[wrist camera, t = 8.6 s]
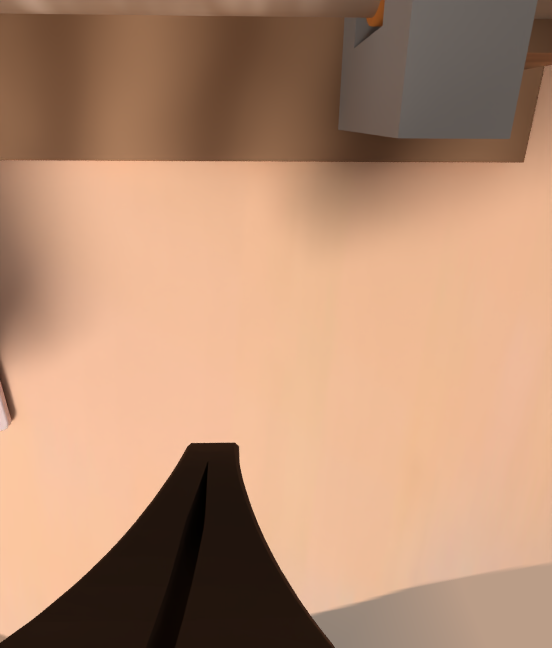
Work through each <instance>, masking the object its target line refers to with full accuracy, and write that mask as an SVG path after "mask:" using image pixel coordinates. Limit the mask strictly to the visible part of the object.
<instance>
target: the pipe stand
mask: <svg viewBox="0 0 552 648" xmlns="http://www.w3.org/2000/svg"><path fill="white" fill-rule="evenodd" d="M384 4H385V0H0V160H96V161H319V162H524V158H525V154H526V149H527V145H528V140H529V135H530V131H531V126H532V121H533V117H534V112H535V108H536V103H537V98H538V94H539V89H540V84H541V80H542V75H543V71H544V66H547V65H552V0H538V1H537V6H536V11H535V16H534V21H533V26H532V31H531V36H530V41H529V46H528V51H527V56H526V61H525V66H524V71H523V76H522V81H521V86H520V91H519V96H518V101H517V106H516V111H515V116H514V121H513V126H512V131H511V136H510V139H428V138H392V137H385V136H379V135H372V134H365V133H358V132H351V131H344V130H338V124H339V106H340V89H341V71H342V54H343V36H344V18H345V17H346V18H366V19H367V22H368V25H369V26H372V27H382V26H383V16H384Z"/></svg>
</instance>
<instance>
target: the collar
mask: <svg viewBox="0 0 552 648" xmlns="http://www.w3.org/2000/svg"><path fill="white" fill-rule="evenodd" d="M537 1H538V0H385V4H384V16H383V26H382V27H372V26H369V25H368V22H367V19H366V18H346V17H345V18H344V36H343V54H342V71H341V89H340V106H339V124H338V130H344V131H351V132H358V133H365V134H372V135H379V136H385V137H392V138H428V139H510V136H511V131H512V126H513V121H514V116H515V111H516V106H517V101H518V96H519V91H520V86H521V81H522V76H523V71H524V66H525V61H526V56H527V51H528V46H529V41H530V36H531V31H532V26H533V21H534V16H535V11H536V6H537Z"/></svg>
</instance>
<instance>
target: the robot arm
mask: <svg viewBox="0 0 552 648" xmlns="http://www.w3.org/2000/svg"><path fill="white" fill-rule="evenodd" d="M10 424H11V417H10V414H9V410H8V407H7V403H6V400H5V396H4V392H3V389H2V385H1V382H0V431H3V430H6V429H7V428H8V427H9V426H10ZM0 648H335V647H334V646H333V644H332V643H331V642H330V640H329V639H328V638H327V637H326V635H325V634H324V633H323V632H322V630H321V629H320V628H319V627H318V625H317V624H316V622H315V621H314V620H313V619H312V617H311V616H310V614H309V613H308V611H307V610H306V608H305V607H304V606H303V604H302V603H301V601H300V600H299V598H298V597H297V595H296V594H295V592H294V590H293V589H292V587H291V585H290V584H289V582H288V581H287V579H286V577H285V576H284V574H283V573H282V571H281V569H280V567H279V566H278V564H277V562H276V560H275V558H274V556H273V554H272V553H271V551H270V549H269V547H268V544H267V542H266V540H265V538H264V536H263V534H262V532H261V529H260V527H259V525H258V522H257V520H256V517H255V515H254V512H253V510H252V507H251V504H250V502H249V498H248V495H247V492H246V489H245V486H244V482H243V478H242V474H241V469H240V463H239V446H238V445H237V444H236V443H191V444H190V445H189V446H188V447H187V448H186V450H185V452H184V454H183V456H182V457H181V459H180V461H179V462H178V464H177V466H176V467H175V469H174V470H173V472H172V473H171V475H170V476H169V478H168V479H167V481H166V482H165V484H164V485H163V486H162V488H161V489H160V491H159V492H158V494H157V495H156V496H155V498H154V499H153V500H152V502H151V503H150V504H149V506H148V507H147V508H146V509H145V511H144V512H143V513H142V514H141V516H140V517H139V518H138V519H137V521H136V522H135V523H134V524H133V526H132V527H131V528H130V529H129V530H128V531H127V533H126V534H125V535H124V536H123V537H122V538H121V539H120V540H119V541H118V543H117V544H116V545H115V546H114V547H113V548H112V549H111V550H110V551H109V552H108V553H107V554H106V555H105V556H104V557H103V558H102V559H101V560H100V561H99V562H98V563H97V564H96V565H95V566H94V567H93V568H92V569H91V570H90V571H89V572H88V573H87V574H86V575H85V576H84V577H82V578H81V579H80V580H79V581H78V582H77V583H76V584H75V585H74V586H72V587H71V588H70V589H69V590H68V591H67V592H65V593H64V594H63V595H62V596H61V597H59V598H58V599H57V600H56V601H55V602H53V603H52V604H51V605H50V606H49V607H47V608H46V609H45V610H44V611H43V612H41V613H40V614H39V615H38V616H36V617H35V618H34V619H33V620H31V621H30V622H29V623H27V624H26V625H24V626H23V627H22V628H20V629H19V630H17V631H16V632H15V633H13V634H12V635H11V636H9V637H8V638H6V639H5V640H4V641H2V642H1V643H0Z"/></svg>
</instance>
